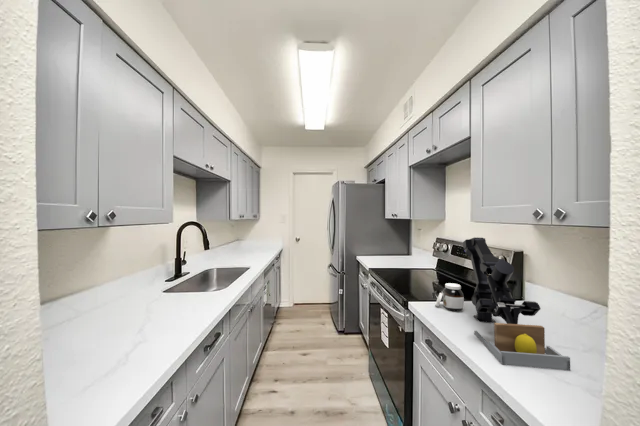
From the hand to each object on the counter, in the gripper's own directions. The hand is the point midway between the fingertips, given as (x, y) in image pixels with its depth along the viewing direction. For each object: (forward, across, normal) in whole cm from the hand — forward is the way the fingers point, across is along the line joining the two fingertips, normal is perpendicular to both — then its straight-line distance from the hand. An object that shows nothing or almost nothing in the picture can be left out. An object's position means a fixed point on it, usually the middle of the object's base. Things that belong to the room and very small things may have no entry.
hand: (515, 331), depth 88 cm
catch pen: (+4, -1, -5) cm, 7 cm away
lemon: (+8, -1, -2) cm, 8 cm away
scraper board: (+5, 0, -4) cm, 7 cm away
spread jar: (-24, +10, -33) cm, 42 cm away
